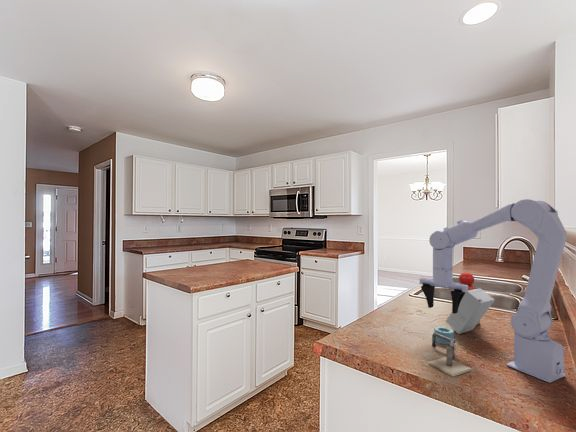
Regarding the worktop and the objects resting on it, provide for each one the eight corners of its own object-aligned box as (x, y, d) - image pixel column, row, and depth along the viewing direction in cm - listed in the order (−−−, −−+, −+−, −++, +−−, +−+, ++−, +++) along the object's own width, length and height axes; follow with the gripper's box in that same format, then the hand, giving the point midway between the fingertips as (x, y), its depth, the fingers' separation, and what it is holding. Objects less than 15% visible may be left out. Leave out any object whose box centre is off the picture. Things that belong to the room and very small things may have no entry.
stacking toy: (473, 318, 117) (473, 271, 117) (484, 326, 109) (484, 275, 109) (452, 317, 118) (452, 270, 118) (461, 325, 110) (462, 274, 110)
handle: (465, 358, 83) (465, 344, 83) (452, 362, 81) (452, 347, 81) (433, 344, 92) (433, 331, 92) (421, 347, 90) (421, 334, 90)
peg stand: (470, 370, 76) (470, 351, 76) (453, 376, 73) (453, 356, 73) (445, 358, 82) (445, 340, 82) (428, 364, 79) (428, 345, 79)
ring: (456, 342, 94) (456, 331, 94) (445, 345, 91) (446, 333, 91) (441, 336, 98) (441, 325, 98) (431, 339, 96) (431, 328, 96)
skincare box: (458, 318, 108) (479, 287, 102) (473, 331, 104) (496, 299, 98) (444, 321, 104) (465, 289, 98) (458, 335, 100) (482, 302, 93)
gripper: (472, 270, 93) (472, 313, 93) (426, 264, 105) (426, 302, 105) (462, 272, 89) (462, 317, 89) (416, 266, 100) (416, 306, 100)
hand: (442, 310), depth 96 cm, fingers open, 7 cm apart
